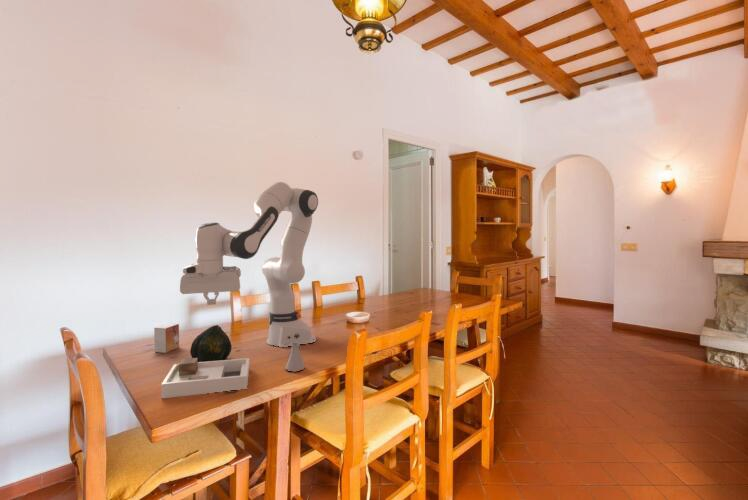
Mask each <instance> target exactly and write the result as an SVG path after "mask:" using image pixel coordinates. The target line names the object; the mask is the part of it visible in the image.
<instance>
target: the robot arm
mask: <svg viewBox="0 0 748 500" xmlns="http://www.w3.org/2000/svg"><path fill="white" fill-rule="evenodd" d="M318 205H319V198H318V195H317V193H316V192H315V191H313V190H309V189H303V188H299V187H297V188H296V187H295V188H293V187H291V186H290V185H289V184H288V183H286V182H283V181H282V182H281V181H278V182H275V183H274V184H272V185H271V186H269V187H268V188H266V189H265V190H264V191H263V192H262V193H261V194H260V195H259V196H258V197H257V198H256V199H255V201H254V202H253V210H254V213H255V215H256V216H257V217H258V218H257V219H256V221H254V223H253V224H252V225H251V226H250V228H248V229H246V230H243V231H232V230H230V229H227V228H226V227H223V226H222V225H221V224H220V223H218V222H208V223H203V224H200V225H198V227H197V229H196V232H195V248H196V251H197V256H196V263H192V264H190V265H187V266H184V267H183V268H182V272H183V275H181V278H180V281H179V282H180V283H179V292H180V294H183V295H189V294H190V295H191V294H194V295H195V294H203V297H204V299H205V300H206V305H207V306H209V305H210V306H211V305H217V298H218V296H219V295H220V293H223V292H225V293H227V292H238V291H239V290H240V289H241V281H240V277H241V274H242V273H241V272H242V271H241V269H240V268H239V267H237V266H236V265H235V266H224V256H227V257H234V258H239V259H243V260H248V259H249V260H250V259H252V258H253V257H254V256H256V254H257V253H258V251H259V249H260V247H261V244H262V243H263V240H264V239H265V238H266V236H267V235H268V234H269V232H270V231H271V229H272V228H273V227H274V225H275V224H276V222H277V221H278V219H279V215H281V213H282V212H283V211H286V212H290V218H289V219H288V221H287V224H286V227H285V228H284V232H283V234H282V237H281V239H280V247H281V255H280V257H279V256H278V257H277V256H275V257H274V256H273V257H270V258H267V259H266V260H264V262H262V263H263V264H262V266H261V271H262V274H263V275H264V277H265V279H266V282H267V287H268V291H269V301H270V303H269V307H270V308H269V309H270V310H269V314H268V324H269V328H268V329H269V330H268V335H267V339H266V343H267V344H268V345H270V346H273V345H274V347H278V346H279V348H282V347H284V348H289V347H288V346H291V343H293V342H298V343H300V344H306V343H312V342H315V341H316V342H317V337H316V336H315V335H314V334H312V331H311V328H310V326H309V325H308V324H307V323H306V322H305V321H303V320H301V319H300V318H301V316H302V315H301V313H300V312H299V311H298V310H296V307H295V306H296V295H295V292H294V291H293V289H292V286H291V284H297V283H299V282H301V281H302V280H303V279H304V277H305V273H306V271H305V267H304V264H303V254H304V249H305V246H306V243H307V240H308V237H309V234H310V231H311V228H312V223H313V216H312V215H313V214H314V213H315V212H316V210H317V208H318ZM209 293H210V294H211V293H214V296H215V297H214V298H209ZM316 342H315V343H316ZM306 345H307V344H306Z"/></svg>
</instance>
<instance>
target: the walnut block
mask: <svg viewBox="0 0 748 500" xmlns="http://www.w3.org/2000/svg"><path fill="white" fill-rule="evenodd" d="M178 364H179V376H184V375H195V374H196V372H197V369H198V358H192V357H190V358H189V357H188V358H182V359H180V361H179V363H178Z"/></svg>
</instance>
